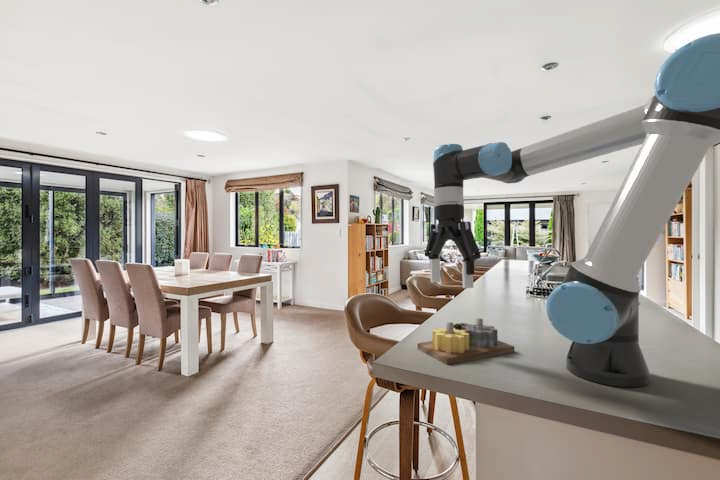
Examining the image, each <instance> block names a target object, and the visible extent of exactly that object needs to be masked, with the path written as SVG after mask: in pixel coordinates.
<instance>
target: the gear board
mask: <svg viewBox="0 0 720 480" xmlns="http://www.w3.org/2000/svg"><path fill="white" fill-rule="evenodd" d="M445 325H446V327H445V329H446V334H453V325H454V322H452V321H447V322H446V324H445ZM462 330H465V331H466V333H469V350H464V353H459V352H451V353H446V351H442V350H438V351H437V350H435V346H433V340H430V341H425V342H424V341H423V342H418V343H417V349H418V350H420V351H421V352H423V353H424V354H426V355H428V356H430V357H432V358H433V359H436V360H437V361H439V362H441V363H443V364H444V365H452V364H456V363H462V362H463V363H464V362H467V361H473V360H479V359H483V358H489V357H493V356H494V357H495V356H501V355H503V354H504V355H505V354H510V353H515V345H512V344H509V343H506V342H504V341H501V340H498V337H499V336H498V328H495V326H493V325H484V320H483V318H479V317H477V318H475V324H471V323H467V324H466V326H462Z"/></svg>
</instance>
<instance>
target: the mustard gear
mask: <svg viewBox="0 0 720 480" xmlns="http://www.w3.org/2000/svg"><path fill="white" fill-rule="evenodd" d="M432 341H433V346H435V350H437V351H438V350H442V351H446V353H451V352H459V353H464V350H469V333H466V331H465V330H457V329H455V328H453V334H446V328H443V327H438V328H437V329H436V330H435V329H434V330H432Z"/></svg>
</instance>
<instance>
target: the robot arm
mask: <svg viewBox="0 0 720 480" xmlns="http://www.w3.org/2000/svg"><path fill="white" fill-rule="evenodd" d="M653 88H654V90H653V91H654V96H651V98H649V100H648V101H647V102H646V103H645V104H643V105H640V106H638V107H635V108H631V109H629V110H626V111H623V112H620V113H617V114H615V115H612V116H609V117H606V118H603V119H600V120H597V121H594V122H592V123H589V124H585V125H583V126H581V127H578V128H574V129H571V130H569V131H565V132H563V133H560V134H558V135H554V136H552V137H550V138H546V139H544V140H540V141H537V142H534V143H531V144H528V145H526V146H524V147H521V148H517V149H515V150H511V148H510V147H509V146H508V144H507V143H506V142H503V141H499V142H489V143H486V144H483V145H479V146H475V147H471V148H467V149H464V148H463V147H462V145H460V144H458V143H449V144H442V145H441V144H440V145H439V146H437V147H436V148H435V149H434V151H433V162H432V167H433V175H434V176H433V179H434V180H433V183H434V184H433V185H434V187H433V188H434V189H433V200H434V201H433V202H434V204H435V207H434V219H435V220H436V221H438V223H432V224H430V232H429V235H428V240H427V244H426V248H425V251H424V256H425V257H428V259H429V269H430V283H431V284H432V283H440V282H441V259H440V253H441V252H442V250H443V249H444V246H445V244H446V242H448V241H449V240H450V241H452V242H454V244H455V245H456V248H457V249H458V252H459V253H460V254H461V257H462V258H463V260H462V262H461V271H462V273H461V274H462V288H463V289H471V288H472V289H473V288H474V275H475V262H476V260H479V259H481V257H482V255H481V252H480V249H479V247H478V244H477V241H476V240H475V237H474V234H473V231H472V225H471V224H472V223H471V221H462V220H463V219H464V218H465V208H464V207H465V206H464V205H463V203H464V202H465V201H464V181H469V180H474V179H480V178H484V179H489V180H493V181H497V182H502V183H505V184H517V183H520V182H522V181H524V179H526V178H527V177H531V176H534V175H537V174H541V173H544V172H547V171H552V170H554V169H558V168H562V167H566V166H569V165H572V164H576V163H580V162H583V161H587V160H590V159H594V158H598V157H600V156H604V155H609V154H611V153H614V152H619V151H622V150H625V149H629V148H632V147H636V146H639V145H640V147H639V150H638V151H637V154H636V156H635V157H634V159H633V160H632V163H631V165H630V167H629V169H628V171H627V173H626V175H625V177H624V179H623V181H622V183H621V185H620V187H619V189H618V191H617V193H616V194H615V197H614V199H613V200H612V203H611V205H610V207H609V209H608V211H607V212H606V215H605V217H604V219H603V220H602V223H601V224H600V227H599V229H598V231H597V232H596V234H595V237H594V239H593V241H592V243H591V245H590V247H589V248H588V250H587V251H586V252H587V253H586V255H585V256H584V257H583V258H582V259H579V260H575V261H573V262H572V263H571V264H570V266H569V268H568V270H567V272H566V274H565V276H564V278H563V280H562V283H561V284H559V285H556V287H555V288H553V290H552V291H551V292H550V293H549V295H548V296H547V299H546V303H545V310H546V315H547V317H548V320H549V321H550V325H551V326H552V327H553V329H555V331H557V333H559V334H560V335H561V336H563V337H564V338H566V339H568V340H570V341H572V342H571V345H570V347H569V350H568V352H567V355H566V360H565V362H566V364H565V365H566V369H567V370H568V371H569V372H570V373H571V374H573V375H575V376H577V377H580V378H581V379H585V380H587V381H590V382H594V383H596V384H597V383H598V384H602V385H607V386H612V387H623V388H639V387H644V386H647V385H649V384H650V370H649V367H648V364H647V362H646V359H645V357H644V353H643V352H642V349H641V346H640V341H639V339H640V338H639V335H640V334H639V333H640V332H639V326H640V325H639V316H640V315H639V313H640V312H639V308H640V307H639V303H640V302H639V301H640V299H639V294H640V293H641V290H642V288H641V286H640V284H639V278H638V275H639V274H640V271H641V270H642V268H643V266H644V265H645V262H646V261H647V259H648V257H649V256H650V253H651V251H652V250H653V249H654V247H655V245H656V243H657V241H658V239H659V238H660V236H661V235H662V233H663V231H664V229H665V227H666V226H667V223H668V221H670V218H671V217H672V215H673V213H674V212H675V209H676V208H677V206H678V204H679V203H680V201H681V199H682V197H683V196H684V195H685V194H684V193H685V192H686V190H687V188H688V186H689V185H690V183H691V181H692V179H693V177H694V176H695V173H697V171H698V169H699V167H700V166H701V164H702V161H703V160H704V158H705V156H706V155H707V153H708V151H709V149H710V148H711V147H712V146H714V145H716V144H719V143H720V32H718V33H717V32H716V33H713V34H708V35H705V36H701V37H698V38H696V39H694V40H692V41H690V42H688V43H687V44H685V45H683V46H681V47H679V48H678V49H676V50H675V51H674V52H673V53H671V54H670V56H668V57H667V59H665V61H664V62H663V63H662V64H661V66H660V68H659V70H658V71H657V74H656V77H655V82H654V86H653Z"/></svg>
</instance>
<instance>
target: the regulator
mask: <svg viewBox="0 0 720 480" xmlns="http://www.w3.org/2000/svg"><path fill="white" fill-rule="evenodd" d="M466 324H468V323H465V322H459V323H455V324H453V328H455V329H457V330H462V326H466Z"/></svg>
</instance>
